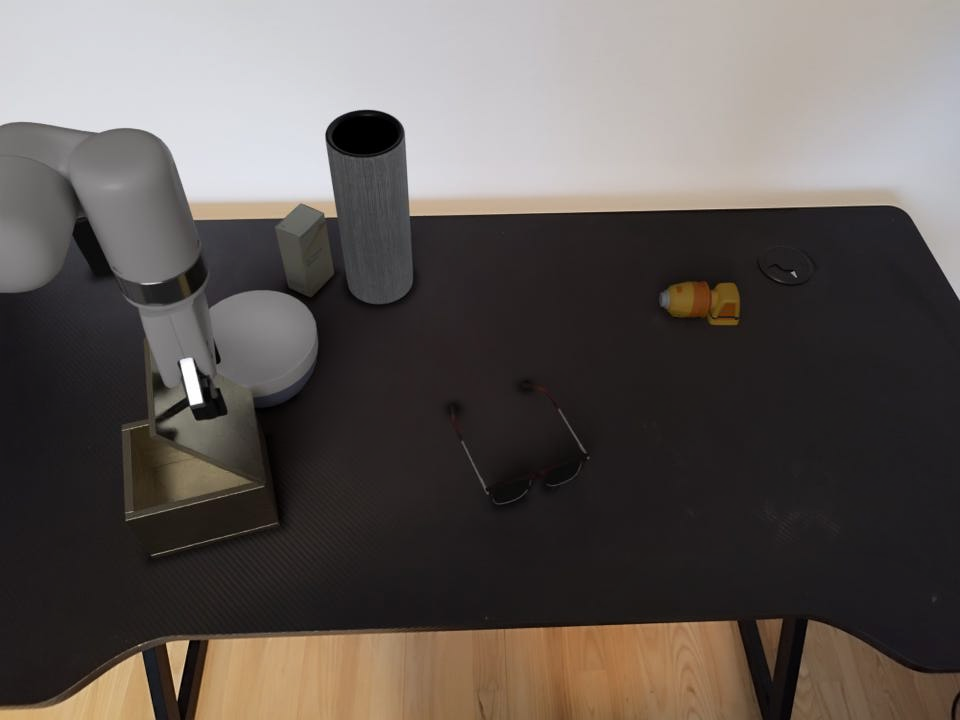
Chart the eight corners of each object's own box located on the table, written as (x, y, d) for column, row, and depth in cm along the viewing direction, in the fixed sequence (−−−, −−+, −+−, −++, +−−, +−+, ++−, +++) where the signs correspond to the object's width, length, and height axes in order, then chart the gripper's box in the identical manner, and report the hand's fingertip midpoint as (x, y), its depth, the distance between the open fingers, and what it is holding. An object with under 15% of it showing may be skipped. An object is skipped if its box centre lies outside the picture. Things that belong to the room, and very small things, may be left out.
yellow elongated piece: (659, 325, 117) (740, 326, 117) (666, 300, 113) (750, 301, 113) (654, 298, 120) (733, 299, 121) (661, 273, 116) (743, 273, 116)
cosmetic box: (311, 298, 118) (298, 239, 109) (287, 287, 120) (272, 227, 110) (335, 272, 122) (325, 212, 112) (312, 262, 123) (300, 201, 114)
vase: (336, 295, 119) (311, 146, 98) (363, 251, 125) (344, 101, 104) (398, 312, 117) (386, 164, 96) (422, 266, 123) (416, 117, 102)
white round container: (265, 449, 102) (250, 407, 95) (183, 387, 108) (163, 343, 100) (350, 372, 110) (342, 327, 103) (269, 318, 116) (256, 272, 108)
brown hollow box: (152, 559, 93) (125, 520, 85) (147, 467, 100) (121, 424, 92) (280, 526, 96) (264, 486, 88) (265, 439, 103) (250, 395, 95)
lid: (149, 438, 76) (191, 410, 74) (142, 338, 83) (181, 311, 82) (261, 486, 88) (299, 463, 86) (246, 395, 95) (281, 372, 94)
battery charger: (139, 252, 123) (115, 195, 114) (141, 269, 121) (116, 212, 112) (92, 262, 122) (63, 205, 113) (93, 279, 120) (64, 222, 111)
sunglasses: (486, 512, 98) (486, 490, 94) (440, 415, 107) (439, 392, 104) (586, 476, 101) (590, 454, 97) (533, 386, 111) (535, 362, 107)
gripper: (113, 209, 73) (166, 335, 87) (118, 351, 63) (177, 467, 77) (197, 195, 74) (236, 321, 88) (215, 332, 64) (256, 449, 78)
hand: (208, 388), depth 82 cm, fingers closed on lid, 6 cm apart
